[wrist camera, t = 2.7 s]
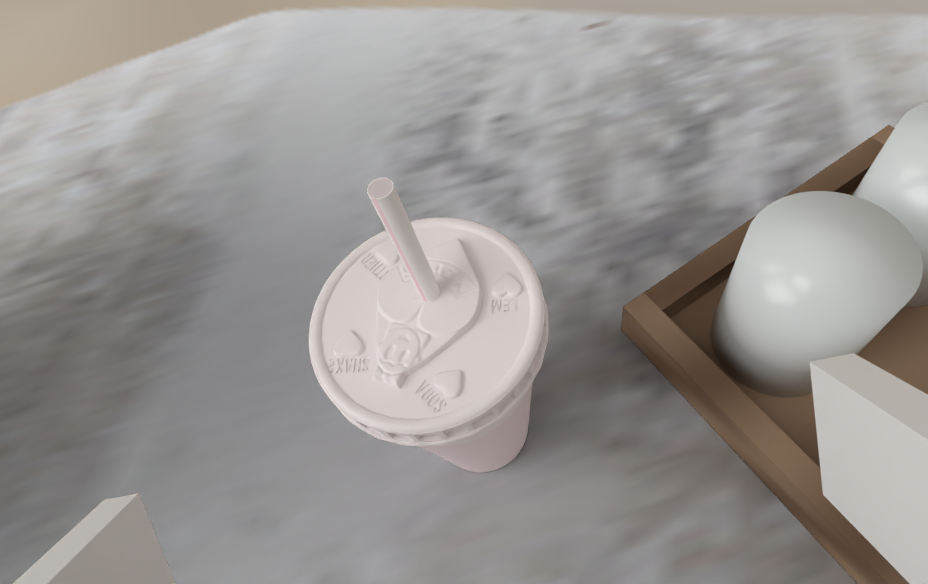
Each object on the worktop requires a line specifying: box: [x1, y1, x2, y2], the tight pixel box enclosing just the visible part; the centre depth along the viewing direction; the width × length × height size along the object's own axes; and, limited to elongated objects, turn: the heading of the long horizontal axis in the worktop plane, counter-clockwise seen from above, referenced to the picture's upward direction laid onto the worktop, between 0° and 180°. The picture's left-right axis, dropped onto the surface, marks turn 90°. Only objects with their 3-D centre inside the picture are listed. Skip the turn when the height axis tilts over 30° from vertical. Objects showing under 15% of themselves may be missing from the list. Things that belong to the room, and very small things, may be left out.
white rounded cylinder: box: [710, 191, 923, 398], centre depth 19 cm, size 5×5×6 cm
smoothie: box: [309, 177, 549, 472], centre depth 17 cm, size 6×6×14 cm
